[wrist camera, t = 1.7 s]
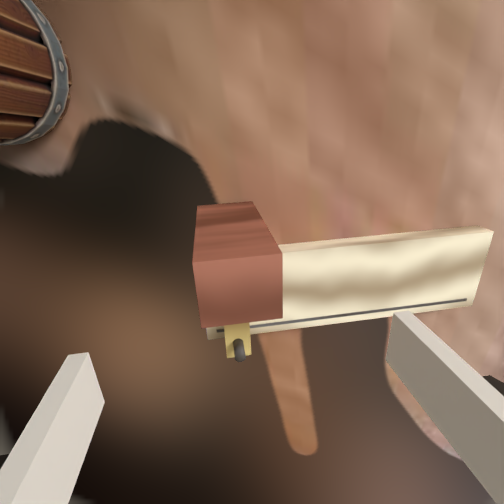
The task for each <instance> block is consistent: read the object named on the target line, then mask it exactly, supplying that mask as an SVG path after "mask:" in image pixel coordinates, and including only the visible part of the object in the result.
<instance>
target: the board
mask: <svg viewBox="0 0 504 504" xmlns="http://www.w3.org/2000/svg"><path fill="white" fill-rule="evenodd" d="M493 233H494V232H493V231H491V230H488V229H486V228H483V227H480V226H468V227H457V228H447V229H437V230H426V231H416V232H406V233H395V234H385V235H375V236H365V237H354V238H344V239H334V240H323V241H313V242H303V243H292V244H282V245H278V247H279V248H280V250H281V252H282V253H283V318H282V319H274V320H266V321H258V322H250V323H249V324H250V334H258V333H266V332H273V331H281V330H289V329H297V328H304V327H312V326H320V325H328V324H335V323H343V322H350V321H358V320H366V319H373V318H382V317H389V316H393V313H394V312H402V311H410V312H411V313H412V314H413V313H420V312H428V311H436V310H444V309H451V308H459V307H467V306H472V304H473V300H474V297H475V294H476V290H477V287H478V283H479V280H480V277H481V273H482V270H483V267H484V263H485V260H486V256H487V253H488V250H489V246H490V243H491V239H492V236H493ZM206 330H207V338H208V340H211V339H219V338H225V332H224V326H218V327H210V328H206Z"/></svg>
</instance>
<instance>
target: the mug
mask: <svg viewBox="0 0 504 504" xmlns="http://www.w3.org/2000/svg"><path fill="white" fill-rule="evenodd" d="M71 85H72V80H71V69H70V65H69V61H68V57H67V55H66V54H65V53H63V50H62V46H61V40H60V38H59V36H58V34H57V33H56V31H55V29H54V27H53V26H52V24H51V23H50V22H49V20H48V19H47V18H46V16H45V15H44V14H43V13H42V11H40V10H39V9H38V8H37V7H36V5H35V4H34V3H33V2H32V0H0V145H14V144H24V143H27V142H29V141H32V140H35V139H37V138H39V137H42V136H44V135H46V134H47V133H48V132H50V131H51V130H52V129H54V128H55V124H56V123H57V121H58V119H62V118H63V116H64V114H65V112H66V110H67V108H68V105H69V101H70V98H71V96H70V94H69V87H70V86H71Z"/></svg>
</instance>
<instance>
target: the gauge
mask: <svg viewBox="0 0 504 504" xmlns="http://www.w3.org/2000/svg"><path fill="white" fill-rule="evenodd" d="M192 264H193V272H194V279H195V286H196V293H197V300H198V308H199V314H200V322H201V328H210V327H218V326H224V332H225V341H226V351H227V358H230V357H235V360H236V361H238V362H242V361H244V360H245V358H246V355H251V342H250V324H249V323H250V322H258V321H266V320H274V319H282V318H283V253H282V252H281V250H280V248H279V247H278V245H277V243H276V241H275V240H274V238H273V236H272V235H271V233H270V231H269V229H268V228H267V226H266V224H265V223H264V221H263V219H262V217H261V216H260V214H259V212H258V211H257V209H256V207H255V205H254V204H253V202H239V203H227V204H215V205H202V206H197V216H196V227H195V238H194V249H193V260H192Z"/></svg>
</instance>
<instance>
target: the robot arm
mask: <svg viewBox="0 0 504 504" xmlns="http://www.w3.org/2000/svg"><path fill="white" fill-rule="evenodd" d="M386 361H387V363H388V364H389V365H390V366H391V368H392V369H393V370H394V372H395V373H396V374H397V375H398V377H399V378H400V379H401V381H402V382H403V383H404V385H405V386H406V387H407V388H408V390H409V391H410V392H411V394H412V395H413V396H414V398H415V399H416V400H417V401H418V403H419V404H420V405H421V407H422V408H423V409H424V410H425V412H426V413H427V414H428V416H429V417H430V418H431V420H432V421H433V422H434V423H435V425H436V426H437V427H438V429H439V430H440V431H441V433H442V434H443V435H444V436H445V438H446V439H447V440H448V442H449V443H450V444H451V445H452V447H453V448H454V449H455V451H456V452H457V453H458V455H459V456H460V457H461V458H462V460H463V461H464V462H465V464H466V465H467V466H468V468H469V469H470V470H471V471H472V473H473V474H474V475H475V477H476V478H477V479H478V480H479V482H480V483H481V484H482V486H483V487H484V488H485V490H486V491H487V492H488V493H489V495H490V496H491V497H492V499H493V500H494V501H495V503H496V504H504V383H503V382H501V381H499V380H497V379H495V378H494V377H492V376H490V375H489V376H483V377H482V376H481V375H480V374H479V373H477V372H476V371H475V370H474V369H473V368H472V367H471V366H470V365H469V364H468V363H466V362H465V361H464V360H463V359H462V358H461V357H460V356H459V355H458V354H457V353H455V352H454V351H453V350H452V349H451V348H450V347H449V346H448V345H447V344H445V343H444V342H443V341H442V340H441V339H440V338H439V337H438V336H437V335H436V334H434V333H433V332H432V331H431V330H430V329H429V328H428V327H427V326H426V325H424V324H423V323H422V322H421V321H420V320H419V319H418V318H417V317H416V316H415V315H413V314H412V313H411V312H410V311H402V312H394V313H393V318H392V324H391V330H390V336H389V343H388V349H387V355H386ZM104 403H105V401H104V398H103V395H102V392H101V389H100V387H99V383H98V380H97V377H96V374H95V371H94V368H93V365H92V362H91V359H90V356H89V353H88V352H87V353H80V354H72V355H68V356H67V358H66V360H65V361H64V363H63V365H62V366H61V368H60V370H59V372H58V373H57V375H56V377H55V378H54V380H53V382H52V383H51V385H50V387H49V388H48V390H47V392H46V394H45V395H44V397H43V398H42V400H41V402H40V404H39V405H38V407H37V409H36V410H35V412H34V414H33V415H32V417H31V419H30V421H29V422H28V424H27V425H26V427H25V429H24V431H23V432H22V434H21V436H20V437H19V439H18V441H17V442H16V444H15V446H14V447H13V449H12V451H11V453H10V454H7V455H1V456H0V504H68V502H69V500H70V496H71V494H72V491H73V488H74V486H75V483H76V480H77V477H78V475H79V472H80V469H81V466H82V463H83V461H84V458H85V455H86V452H87V449H88V447H89V444H90V441H91V439H92V436H93V433H94V430H95V427H96V425H97V422H98V419H99V416H100V414H101V411H102V408H103V405H104Z"/></svg>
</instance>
